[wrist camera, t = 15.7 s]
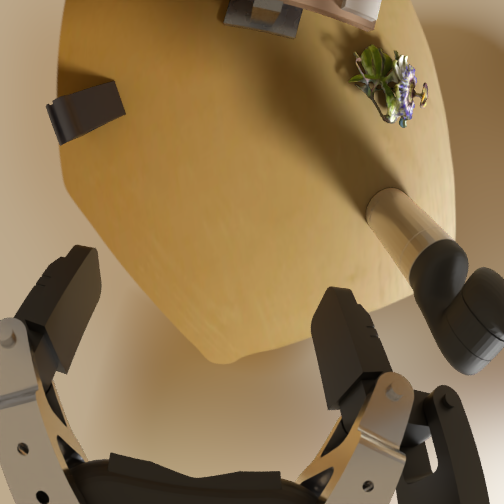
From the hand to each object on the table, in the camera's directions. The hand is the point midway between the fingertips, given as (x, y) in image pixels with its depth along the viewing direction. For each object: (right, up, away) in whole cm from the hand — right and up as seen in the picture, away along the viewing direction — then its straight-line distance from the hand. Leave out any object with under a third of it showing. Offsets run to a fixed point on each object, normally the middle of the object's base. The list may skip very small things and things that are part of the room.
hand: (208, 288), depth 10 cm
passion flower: (+21, +27, +27) cm, 43 cm away
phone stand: (-23, +24, +27) cm, 43 cm away
